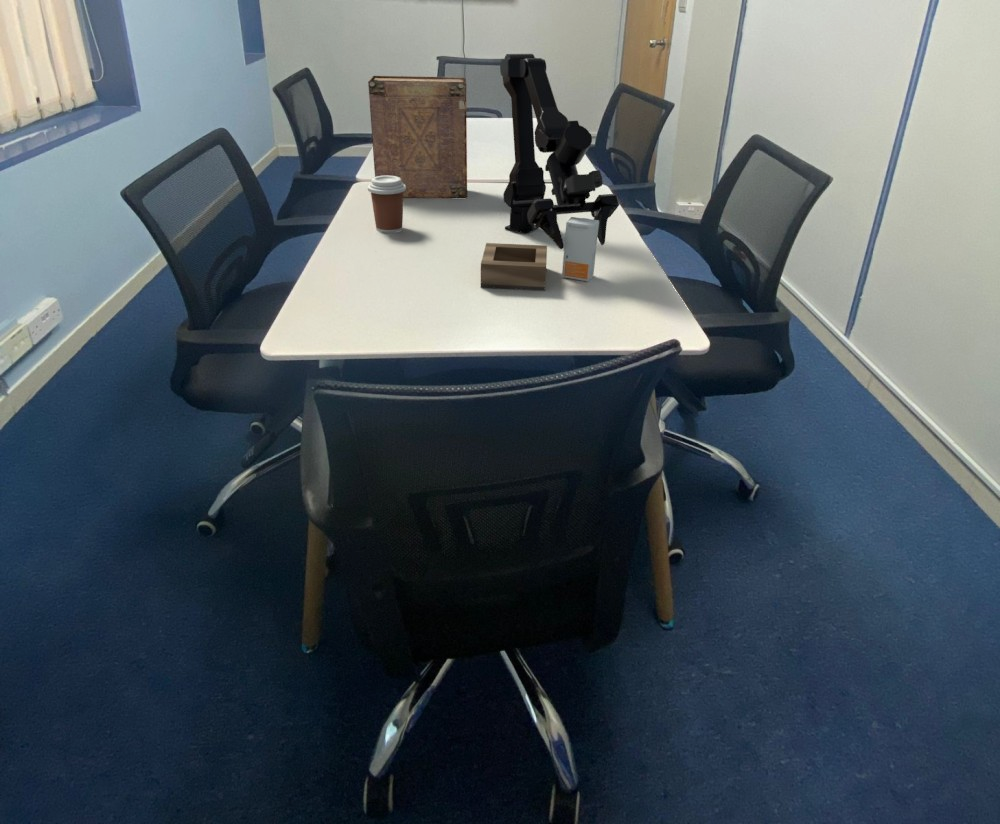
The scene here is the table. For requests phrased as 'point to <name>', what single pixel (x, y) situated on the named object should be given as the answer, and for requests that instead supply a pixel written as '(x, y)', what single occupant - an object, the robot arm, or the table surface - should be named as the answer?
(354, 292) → the table surface
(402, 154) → the book
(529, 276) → the socket block
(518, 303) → the table surface
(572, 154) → the robot arm
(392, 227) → the coffee cup
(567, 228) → the skincare box
